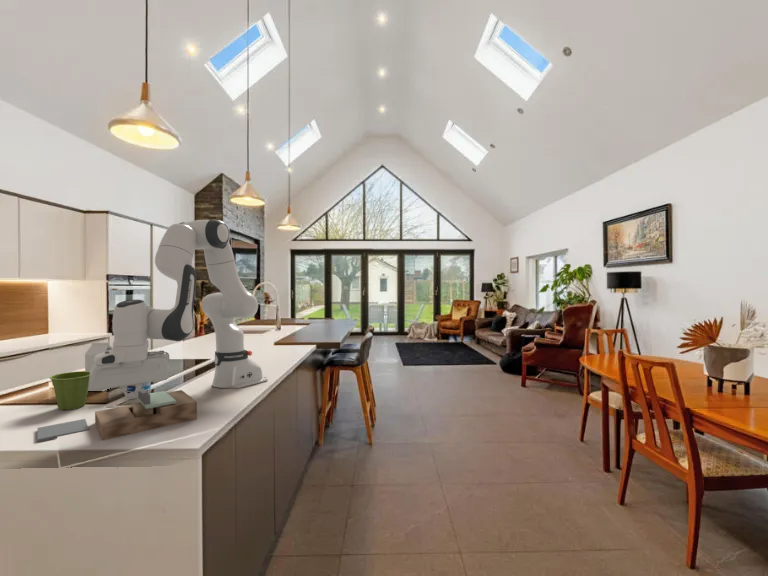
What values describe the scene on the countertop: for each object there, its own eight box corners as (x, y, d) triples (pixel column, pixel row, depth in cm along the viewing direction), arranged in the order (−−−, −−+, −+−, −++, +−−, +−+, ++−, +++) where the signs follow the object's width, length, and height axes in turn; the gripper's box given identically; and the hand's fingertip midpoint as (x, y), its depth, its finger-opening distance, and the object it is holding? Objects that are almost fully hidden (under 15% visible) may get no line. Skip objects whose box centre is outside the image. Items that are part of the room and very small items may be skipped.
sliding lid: (164, 393, 127) (164, 383, 127) (176, 403, 117) (176, 392, 117) (136, 398, 122) (136, 387, 121) (145, 408, 111) (145, 397, 111)
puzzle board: (181, 407, 132) (181, 390, 132) (196, 420, 119) (196, 401, 119) (95, 424, 116) (95, 405, 116) (102, 442, 103) (102, 420, 103)
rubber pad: (85, 421, 118) (85, 418, 118) (88, 431, 110) (88, 428, 110) (37, 430, 111) (37, 427, 111) (37, 442, 103) (37, 439, 103)
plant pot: (66, 414, 124) (66, 380, 124) (40, 411, 128) (40, 377, 127) (102, 403, 136) (101, 372, 136) (77, 400, 139) (77, 369, 139)
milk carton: (102, 392, 150) (102, 344, 149) (85, 392, 150) (84, 344, 149) (115, 387, 157) (115, 341, 156) (98, 387, 157) (98, 341, 156)
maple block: (149, 417, 120) (149, 400, 120) (153, 421, 117) (153, 404, 117) (133, 421, 117) (132, 403, 117) (135, 425, 114) (135, 407, 114)
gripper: (166, 348, 124) (167, 390, 124) (87, 356, 110) (88, 404, 110) (171, 351, 119) (172, 394, 119) (89, 360, 105) (90, 409, 106)
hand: (131, 399), depth 115 cm, fingers closed
